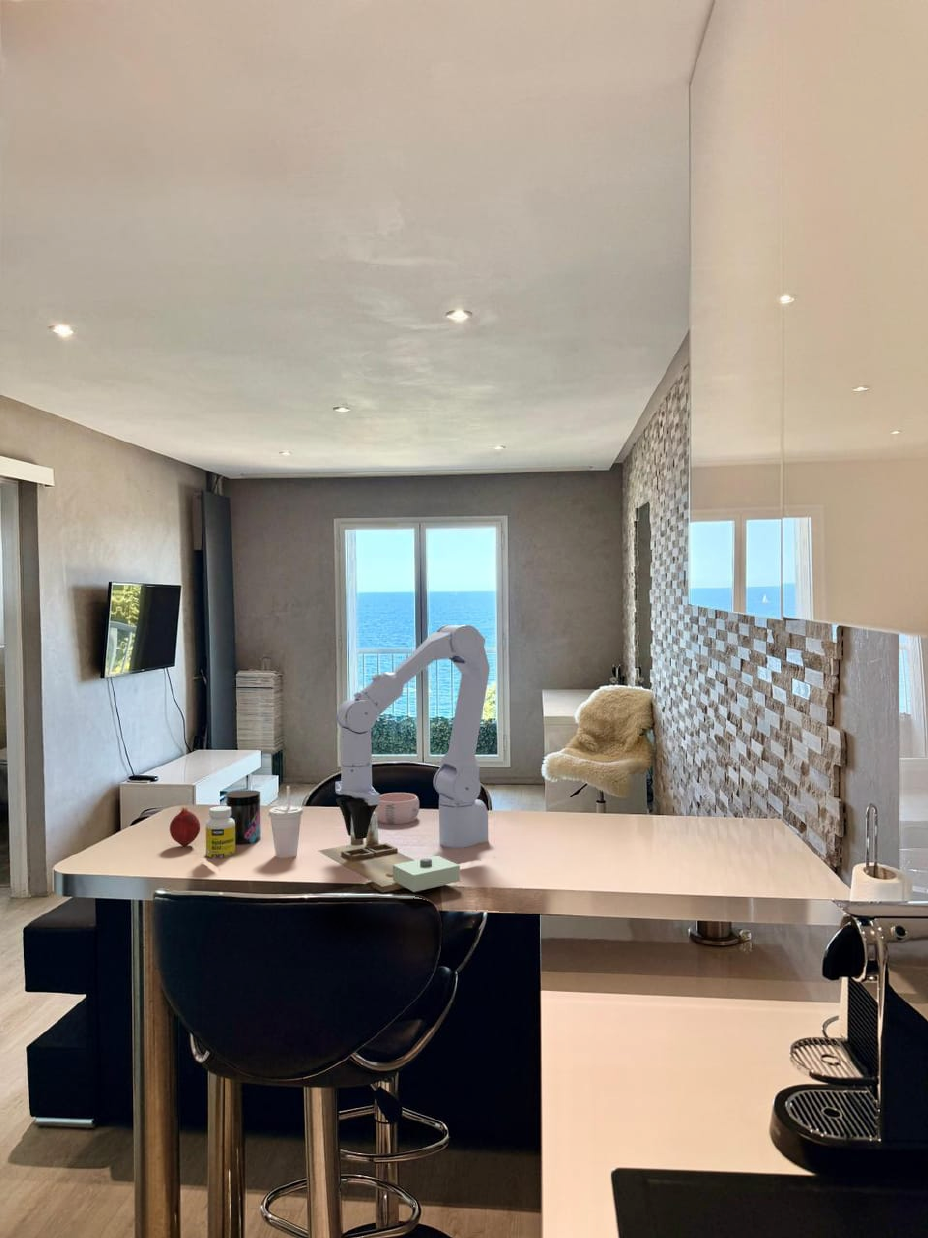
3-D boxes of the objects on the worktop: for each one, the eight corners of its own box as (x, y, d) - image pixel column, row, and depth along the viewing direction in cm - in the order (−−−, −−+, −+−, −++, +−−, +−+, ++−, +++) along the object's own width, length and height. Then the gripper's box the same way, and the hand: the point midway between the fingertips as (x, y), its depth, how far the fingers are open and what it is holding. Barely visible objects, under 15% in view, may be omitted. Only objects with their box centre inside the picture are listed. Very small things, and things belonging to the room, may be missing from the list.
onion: (205, 846, 170) (205, 806, 169) (179, 852, 165) (178, 811, 165) (191, 841, 174) (190, 802, 173) (164, 847, 169) (164, 807, 169)
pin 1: (360, 841, 159) (360, 809, 159) (365, 844, 157) (365, 812, 157) (348, 843, 158) (348, 811, 158) (353, 846, 156) (353, 814, 156)
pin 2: (369, 842, 167) (368, 812, 168) (380, 843, 166) (379, 812, 167) (364, 845, 165) (362, 814, 165) (375, 845, 164) (373, 814, 164)
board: (373, 845, 169) (373, 836, 169) (443, 879, 147) (442, 869, 147) (317, 855, 162) (317, 846, 162) (382, 892, 140) (382, 882, 140)
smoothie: (295, 866, 156) (294, 790, 155) (263, 864, 157) (262, 789, 157) (308, 856, 162) (307, 783, 162) (277, 854, 163) (276, 782, 163)
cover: (437, 871, 147) (437, 851, 147) (459, 881, 142) (459, 860, 142) (392, 880, 142) (392, 860, 142) (413, 892, 137) (413, 870, 137)
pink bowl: (414, 830, 180) (414, 803, 180) (369, 829, 181) (369, 802, 181) (424, 816, 192) (424, 790, 192) (382, 815, 193) (381, 790, 193)
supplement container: (240, 851, 165) (239, 799, 165) (219, 846, 170) (219, 794, 169) (267, 844, 171) (267, 793, 170) (247, 838, 175) (246, 788, 175)
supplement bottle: (208, 865, 157) (208, 813, 157) (203, 857, 162) (202, 807, 161) (238, 861, 159) (237, 809, 159) (232, 853, 164) (231, 803, 164)
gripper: (320, 761, 161) (321, 831, 161) (354, 772, 149) (355, 849, 149) (353, 757, 165) (354, 826, 165) (389, 768, 153) (390, 842, 153)
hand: (357, 836), depth 158 cm, fingers closed on pin 1, 2 cm apart
